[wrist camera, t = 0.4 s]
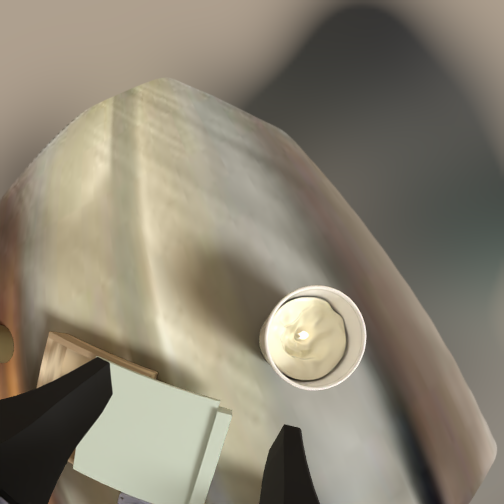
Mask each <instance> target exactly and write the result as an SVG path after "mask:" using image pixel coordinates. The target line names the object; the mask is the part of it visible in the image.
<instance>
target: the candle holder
mask: <svg viewBox="0 0 504 504" xmlns="http://www.w3.org/2000/svg"><path fill="white" fill-rule="evenodd" d="M365 345H366V328H365V323H364V320H363V317H362V315H361V313H360V311H359V309H358V308H357V306H356V305H355V303H354V302H353V301H352V300H351V299H350V298H349V297H348V296H346V295H345V294H343V293H342V292H340V291H338V290H336V289H334V288H331V287H327V286H320V285H313V286H306V287H302V288H299V289H297V290H294V291H293V292H291V293H289V294H288V295H286V296H285V297H284V298H283V299H281V300H280V301H279V303H278V304H277V305H276V306H275V307H274V309H273V310H272V312H271V314H270V315H269V316H268V317H267V319H266V320H265V322H264V323H263V325H262V328H261V330H260V335H259V346H260V350H261V352H262V355H263V356H264V358H265V360H266V361H267V362H268V363H269V364H270V365H271V366H272V368H273V369H274V370H275V372H276V373H277V374H278V375H279V376H280V377H281V378H282V379H283V380H285V381H286V382H288V383H289V384H291V385H293V386H295V387H298V388H301V389H306V390H322V389H327V388H330V387H333V386H335V385H337V384H339V383H341V382H342V381H344V380H345V379H346V378H348V377H349V376H350V375H351V374H352V373H353V371H354V370H355V369H356V368H357V366H358V364H359V363H360V361H361V359H362V356H363V353H364V350H365Z"/></svg>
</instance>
